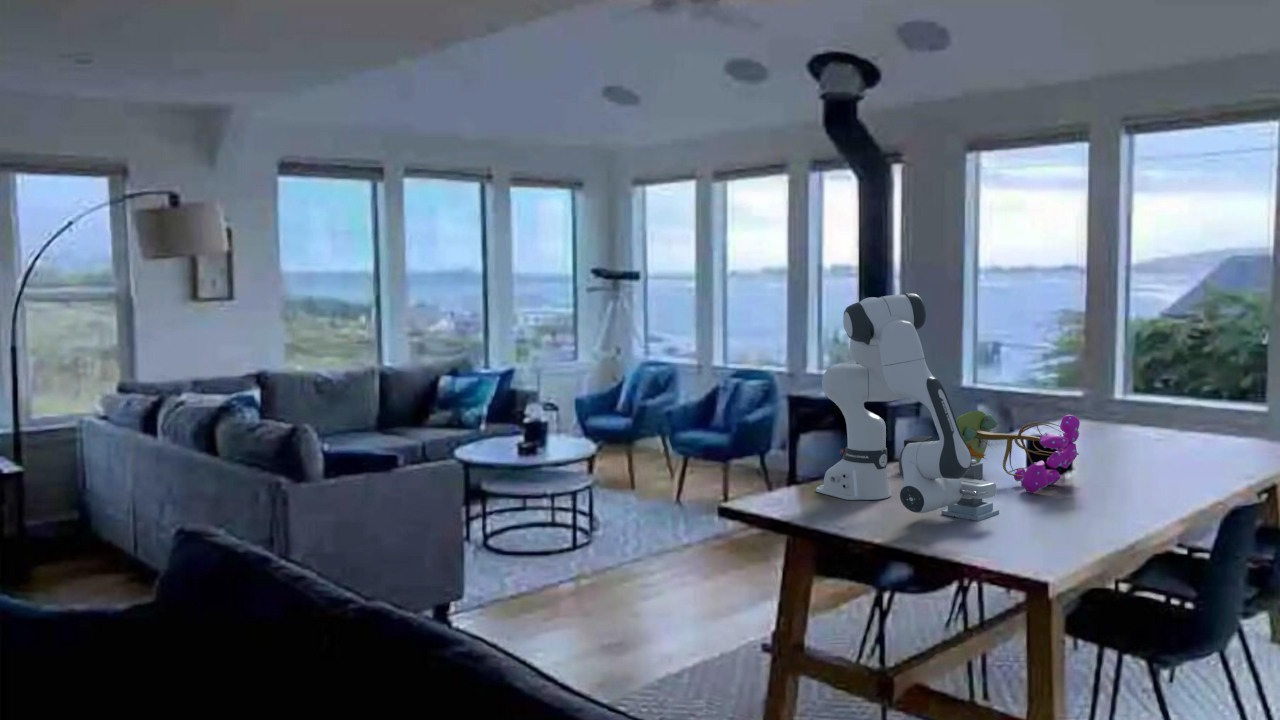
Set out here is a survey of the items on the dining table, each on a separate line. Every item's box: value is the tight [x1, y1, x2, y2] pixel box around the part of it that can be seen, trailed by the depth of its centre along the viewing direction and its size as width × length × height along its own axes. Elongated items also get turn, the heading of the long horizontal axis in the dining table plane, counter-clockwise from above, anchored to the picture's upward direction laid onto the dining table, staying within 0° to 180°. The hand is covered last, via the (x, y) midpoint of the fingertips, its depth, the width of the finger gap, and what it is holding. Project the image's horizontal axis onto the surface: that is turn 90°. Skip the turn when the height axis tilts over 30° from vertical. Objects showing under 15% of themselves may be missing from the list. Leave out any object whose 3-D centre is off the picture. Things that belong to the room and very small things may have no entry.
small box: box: [903, 435, 934, 448], centre depth 352 cm, size 11×6×10 cm, turn 144°
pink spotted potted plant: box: [956, 410, 1081, 494], centre depth 326 cm, size 30×28×35 cm
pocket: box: [941, 499, 1000, 522], centre depth 291 cm, size 11×11×3 cm
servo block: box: [959, 460, 984, 506], centre depth 290 cm, size 4×8×12 cm, turn 133°
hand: (972, 480), depth 291 cm, fingers closed on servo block, 5 cm apart
